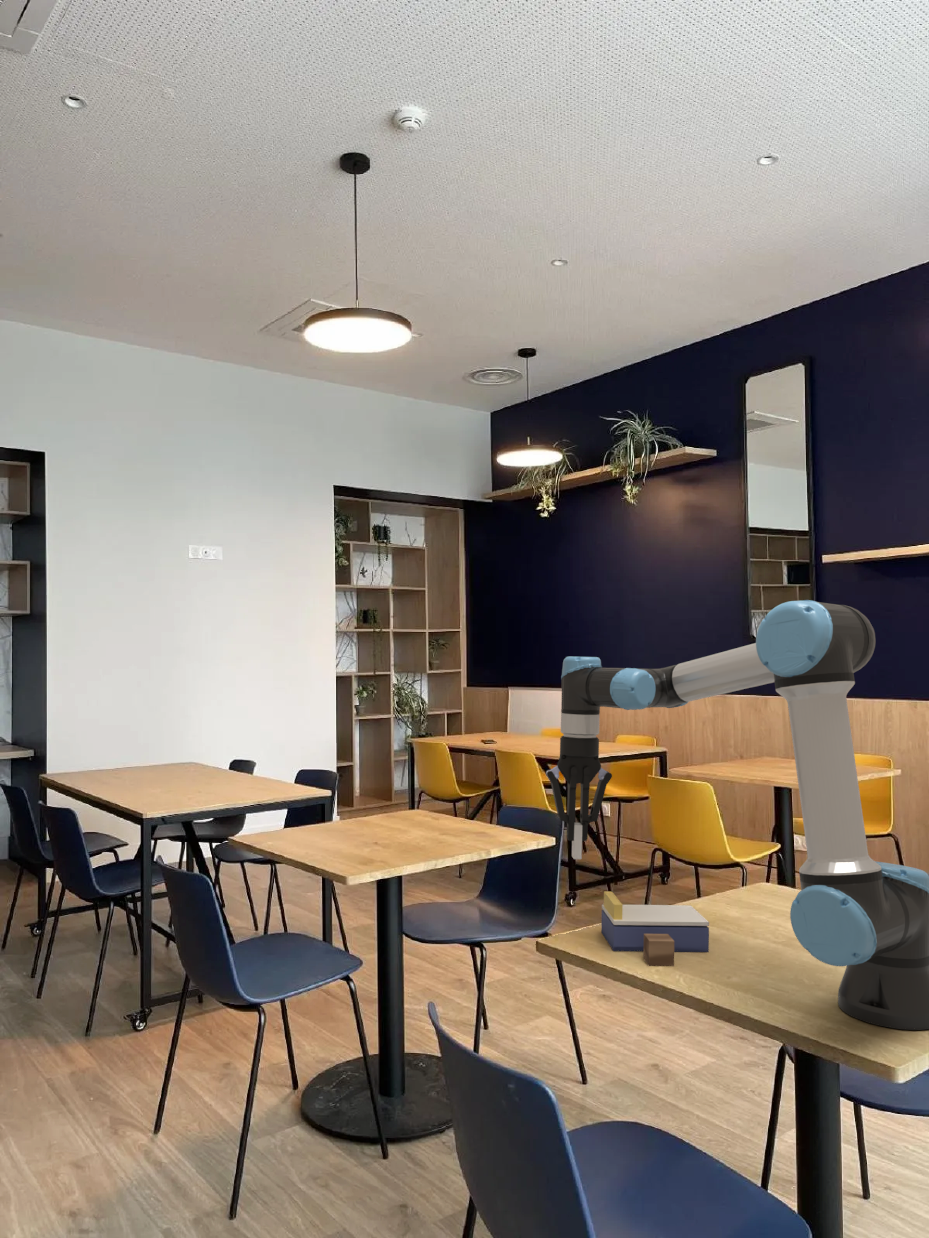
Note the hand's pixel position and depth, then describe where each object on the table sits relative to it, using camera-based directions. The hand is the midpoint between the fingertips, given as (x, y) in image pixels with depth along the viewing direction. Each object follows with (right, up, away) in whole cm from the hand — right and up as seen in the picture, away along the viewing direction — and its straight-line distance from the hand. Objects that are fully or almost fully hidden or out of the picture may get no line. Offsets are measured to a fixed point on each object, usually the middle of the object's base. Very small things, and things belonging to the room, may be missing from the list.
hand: (576, 857), depth 182 cm
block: (+13, -16, -12) cm, 24 cm away
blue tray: (+15, -16, 0) cm, 22 cm away
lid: (+15, -11, 0) cm, 19 cm away
